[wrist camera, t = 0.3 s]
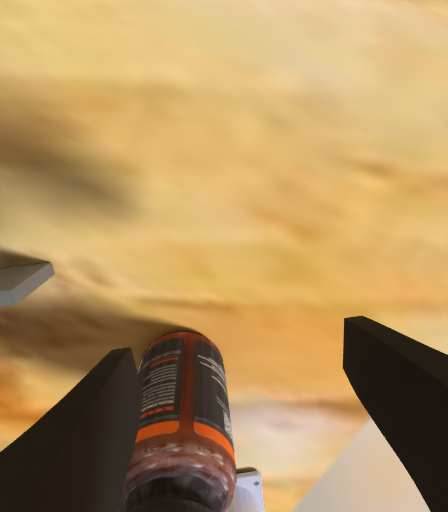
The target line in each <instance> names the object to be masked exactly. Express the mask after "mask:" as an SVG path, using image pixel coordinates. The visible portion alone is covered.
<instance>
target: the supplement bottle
mask: <svg viewBox="0 0 448 512" xmlns="http://www.w3.org/2000/svg"><path fill="white" fill-rule="evenodd" d="M137 374H138V378H139V382H140V386H141V390H142V393H143V402H142V410H141V417H140V424H139V430H138V434H137V438H136V442H135V446H134V449H133V453H132V457H131V461H130V465H129V469H128V472H127V476H126V480H125V484H124V487H123V491H122V495H121V499H120V503H119V506H118V510H117V512H225V511H226V510H227V509H228V507H229V506H230V504H231V502H232V499H233V497H234V494H235V490H236V484H237V478H236V464H235V456H234V445H233V436H232V429H231V420H230V411H229V403H228V395H227V387H226V378H225V370H224V364H223V359H222V356H221V353H220V351H219V349H218V348H217V347H216V346H215V344H214V343H212V342H211V341H210V340H209V339H207V338H206V337H204V336H201V335H199V334H196V333H191V332H175V333H170V334H167V335H165V336H162V337H160V338H159V339H157V340H156V341H154V342H153V343H152V344H151V345H150V346H149V347H148V348H147V350H146V351H145V353H144V355H143V357H142V360H141V363H140V366H139V370H138V373H137Z"/></svg>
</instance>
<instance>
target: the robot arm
mask: <svg viewBox="0 0 448 512" xmlns="http://www.w3.org/2000/svg"><path fill="white" fill-rule="evenodd" d="M343 369H344V371H345V373H346V375H347V377H348V379H349V381H350V383H351V385H352V387H353V389H354V391H355V393H356V395H357V397H358V398H359V400H360V401H361V403H362V404H363V406H364V407H365V409H366V410H367V412H368V413H369V415H370V416H371V418H372V419H373V421H374V422H375V424H376V425H377V427H378V428H379V430H380V431H381V433H382V434H383V436H384V437H385V438H386V440H387V441H388V443H389V444H390V446H391V447H392V449H393V450H394V452H395V453H396V455H397V456H398V457H399V459H400V461H401V462H402V464H403V465H404V467H405V468H406V470H407V471H408V473H409V475H410V476H411V478H412V479H413V481H414V483H415V484H416V486H417V488H418V490H419V491H420V493H421V495H422V497H423V499H424V500H425V502H426V504H427V506H428V507H429V509H430V511H431V512H448V355H447V354H444V353H442V352H440V351H438V350H435V349H433V348H431V347H429V346H427V345H424V344H422V343H420V342H418V341H416V340H414V339H412V338H409V337H407V336H405V335H403V334H401V333H399V332H397V331H395V330H393V329H391V328H389V327H386V326H384V325H382V324H380V323H378V322H376V321H373V320H371V319H369V318H366V317H364V316H357V317H350V318H344V347H343ZM142 402H143V393H142V390H141V386H140V382H139V378H138V374H137V370H136V366H135V362H134V358H133V354H132V350H131V348H123V349H116V350H112V351H111V352H110V353H108V354H107V355H106V356H105V357H104V358H103V359H102V360H101V361H100V362H99V363H98V364H97V365H96V366H95V367H94V368H93V369H92V370H91V371H90V372H89V373H88V374H87V375H86V376H85V377H84V378H83V379H82V380H81V381H80V382H79V383H78V384H77V385H76V386H75V387H74V388H73V389H72V390H71V391H70V392H69V393H68V394H67V395H66V396H65V397H63V398H62V399H61V400H60V401H59V402H58V403H57V404H56V405H55V406H54V407H52V408H51V409H50V410H49V411H48V412H47V413H46V414H45V415H44V416H43V417H41V418H40V419H39V420H38V421H37V422H36V423H35V424H34V425H33V426H31V427H30V428H29V429H28V430H27V431H26V432H24V433H23V434H22V435H21V436H20V437H18V438H17V439H16V440H15V441H14V442H12V443H11V444H10V445H9V446H7V447H6V448H5V449H4V450H2V451H1V452H0V512H117V510H118V506H119V503H120V499H121V495H122V491H123V487H124V484H125V480H126V476H127V472H128V469H129V465H130V461H131V457H132V453H133V449H134V446H135V442H136V438H137V434H138V430H139V424H140V417H141V410H142ZM236 478H237V484H236V490H235V494H234V497H233V499H232V502H231V504H230V506H229V507H228V509H227V510H226V511H225V512H264V502H263V490H262V478H261V474H260V472H258V471H253V472H246V473H239V474H236Z"/></svg>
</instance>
